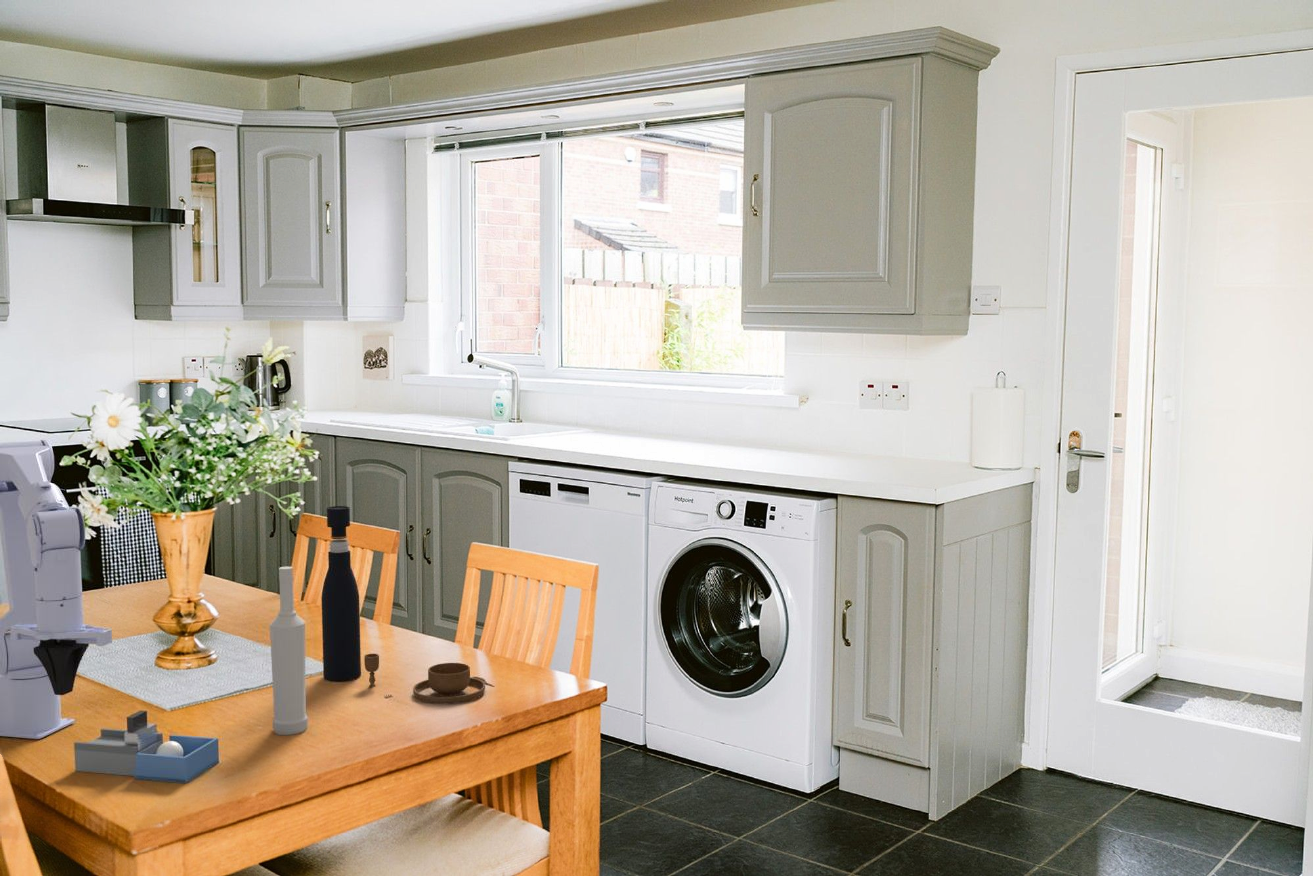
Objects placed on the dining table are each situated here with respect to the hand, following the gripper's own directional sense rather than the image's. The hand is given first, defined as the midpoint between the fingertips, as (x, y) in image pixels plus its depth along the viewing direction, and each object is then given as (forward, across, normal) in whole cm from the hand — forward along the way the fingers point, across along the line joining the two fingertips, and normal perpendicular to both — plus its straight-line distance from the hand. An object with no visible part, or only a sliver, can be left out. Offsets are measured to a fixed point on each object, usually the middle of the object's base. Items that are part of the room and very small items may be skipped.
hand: (63, 692), depth 163 cm
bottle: (+11, +23, +20) cm, 32 cm away
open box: (+10, +16, +2) cm, 19 cm away
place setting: (+11, +36, +44) cm, 58 cm away
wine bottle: (+11, +18, +47) cm, 51 cm away
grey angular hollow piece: (+7, +11, +2) cm, 13 cm away
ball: (+8, +15, +2) cm, 17 cm away
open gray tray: (+10, +8, +2) cm, 13 cm away
